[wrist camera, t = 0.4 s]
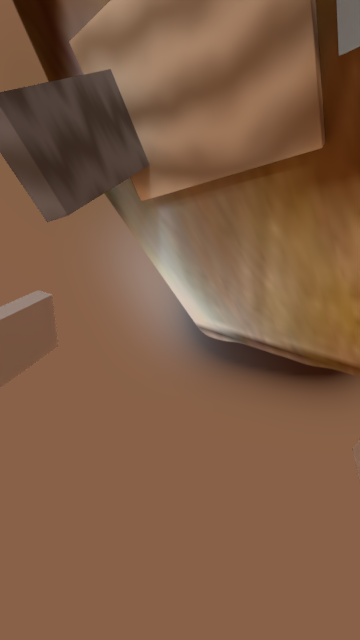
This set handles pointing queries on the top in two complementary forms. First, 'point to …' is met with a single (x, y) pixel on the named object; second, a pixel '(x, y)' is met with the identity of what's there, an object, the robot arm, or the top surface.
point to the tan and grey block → (168, 100)
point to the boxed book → (348, 25)
